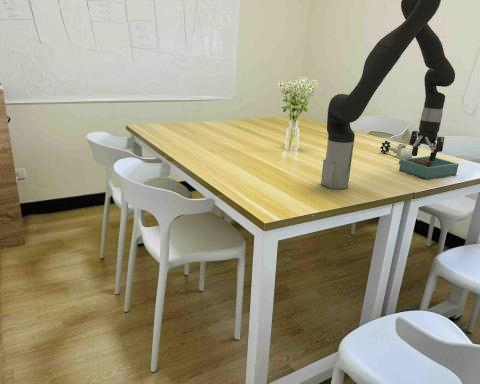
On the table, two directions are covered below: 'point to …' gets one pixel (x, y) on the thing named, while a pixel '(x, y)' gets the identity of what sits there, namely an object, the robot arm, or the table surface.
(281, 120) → the table surface
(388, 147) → the valve
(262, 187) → the table surface
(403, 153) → the ceramic capsule
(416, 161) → the walnut cube
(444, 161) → the tote
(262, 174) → the table surface
